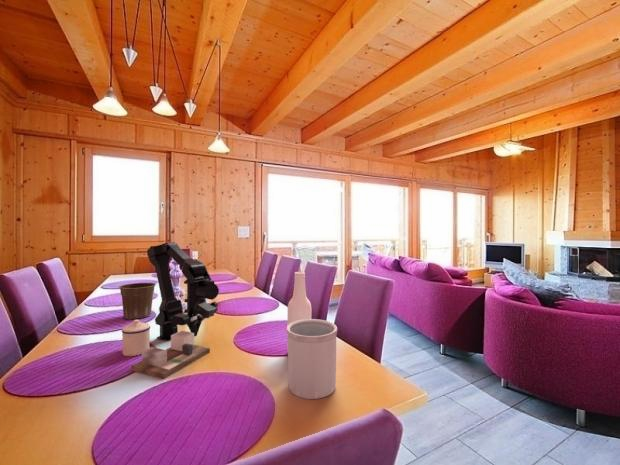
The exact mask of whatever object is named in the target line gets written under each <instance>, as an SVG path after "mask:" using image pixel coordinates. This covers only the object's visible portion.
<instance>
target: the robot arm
mask: <svg viewBox="0 0 620 465" xmlns="http://www.w3.org/2000/svg"><path fill="white" fill-rule="evenodd" d="M146 255H147V257H148V260H149V263H150V264H152V266H153V267H155V271H156V272H155V273H156V278H157V282H158V287H159V292H160V296H161V302H160V305H159V306H158V307H159V308H158V314H157V316H156V317H155V318H154V321H155V325H157V326H159V335H158V336H157V337H156V340H162V341H163V340H164V341H171V335H173V334H175V333H177V332H179V331H178V330H179V328H178V326H187V328H188V330H189V332H192V333H194V337H197V336H198V333H199V330H200V328H201V325H202V322H203V321H204V320H205V319H209V318H211V317H214V316H215V313H217V312H218V307H219V306H218V302H217V301H212V302H209V303H208V302H207V300H215V299H216V298H217V297H218V295H219V293H220V290H219V287H218V285H217V284H216V283H215V280H212V278H211V275H210V273H209V271H208V269H207V267H206V265H205V264H204V263H202V262H201V261H199V260H197V259H193V258H191V257H190V255H188V253H186V252H185V251H184V250H183V249H182V248H181V247H180V246H179V245H178V243H177V242H172V241H170V242H165V243H161V244H159V245H151V246H149V248H148V249H147V251H146ZM171 259H172V260H174V261H175V263H176V264H178V266H180V268H181V273H182V274H183V276H184V278H186V279H185V280H184V281H183V284H186V298H185V299H184V303H186V308H185V309H184V308H183V304H182V300H181V299H177V298H176V296H175V291H174V287H173V282H172V277H171V273H170V267H169V263H170V261H171Z"/></svg>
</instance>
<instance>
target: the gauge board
mask: <svg viewBox="0 0 620 465" xmlns="http://www.w3.org/2000/svg"><path fill="white" fill-rule="evenodd" d="M210 348H211V347H210ZM210 348H209V347H205V346H199V345H195V350H192V354H191V355H185V354H182V351H179V350H174V349H171V346H170V347H169V348H166V349H162V348H158V347H154V346H150V348H148V349H145V350H143V351H142V354H141V361H139V362H136V363H134V364H132V365H131V366H130V370H131V371H132V372H135V373H139V374H144V375H147V376H151V377H155V378H159V379H163V380H164V379H166V378H168V377H170V376H171V375H173V374H175V373H177V372H178V371H181V370H182V369H183V368H185V367H187V366H189V365H190V364H191V365H192V363H194V362H196V361H198V360H199V359H201V358H202V357H204V356H206V355H208V354H210V352H211V349H210Z"/></svg>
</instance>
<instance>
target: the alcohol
mask: <svg viewBox="0 0 620 465" xmlns="http://www.w3.org/2000/svg"><path fill="white" fill-rule="evenodd" d="M293 282H294V284H293V293H292V294H293V295H292V297H291V298H290V300H289V302H288V304H287V322H286V323H287V326H288V325H289V324H290V323H292V322H295V321H298V320H305V319H312V311H313V310H312V304H311V301H310V300H309V298H308V297H307V288H306V272H304V271H295V272H294V281H293ZM287 326H286V327H287ZM286 335H287V334H286ZM286 343H287V345H286V346H287V347H286V348H287V349H286V352H287V353H288V335H287V341H286Z"/></svg>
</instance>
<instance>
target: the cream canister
mask: <svg viewBox="0 0 620 465" xmlns="http://www.w3.org/2000/svg"><path fill="white" fill-rule="evenodd" d="M150 329H151V325H150V324H149V323H146V322H142V321H140V319H133V322H131V323H130V324H128V325H126V326H124V327H123V328H122V330H121V333H122V335H121V336H122V355H123V356H126V357H135V356H136V355H137V356H140V354H141V355H142V351H143V350H145V349H148V348H150V347H151V346H150V344H151V342H150V339H151V337H150V336H151V335H150V331H151V330H150Z"/></svg>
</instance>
